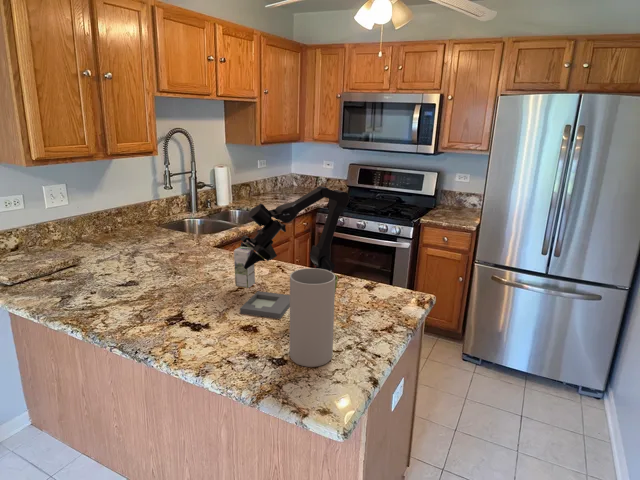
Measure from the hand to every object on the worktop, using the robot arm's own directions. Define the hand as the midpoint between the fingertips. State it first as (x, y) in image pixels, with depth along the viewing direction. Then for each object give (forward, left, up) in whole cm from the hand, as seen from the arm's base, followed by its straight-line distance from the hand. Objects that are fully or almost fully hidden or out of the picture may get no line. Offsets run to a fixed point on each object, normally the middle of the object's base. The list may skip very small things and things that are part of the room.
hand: (241, 265), depth 160 cm
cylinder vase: (-37, +33, -13) cm, 51 cm away
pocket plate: (-13, +6, -13) cm, 19 cm away
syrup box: (-1, -1, -8) cm, 9 cm away
